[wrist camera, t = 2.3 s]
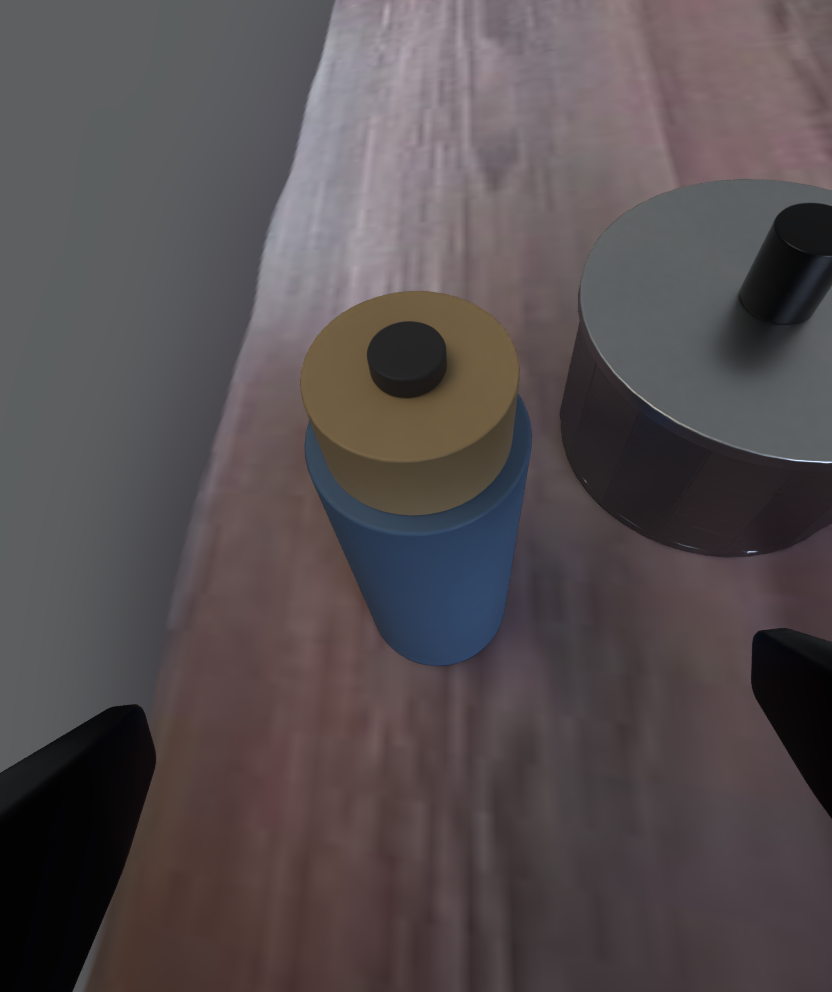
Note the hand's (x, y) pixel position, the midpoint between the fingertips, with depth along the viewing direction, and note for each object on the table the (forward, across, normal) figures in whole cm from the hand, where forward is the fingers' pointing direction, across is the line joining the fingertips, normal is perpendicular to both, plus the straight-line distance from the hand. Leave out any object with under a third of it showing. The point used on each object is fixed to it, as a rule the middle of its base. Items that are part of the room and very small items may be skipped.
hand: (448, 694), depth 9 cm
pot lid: (+12, -11, -4) cm, 17 cm away
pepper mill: (+12, 0, +4) cm, 13 cm away
